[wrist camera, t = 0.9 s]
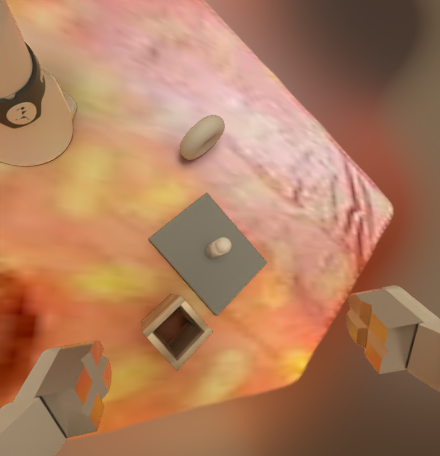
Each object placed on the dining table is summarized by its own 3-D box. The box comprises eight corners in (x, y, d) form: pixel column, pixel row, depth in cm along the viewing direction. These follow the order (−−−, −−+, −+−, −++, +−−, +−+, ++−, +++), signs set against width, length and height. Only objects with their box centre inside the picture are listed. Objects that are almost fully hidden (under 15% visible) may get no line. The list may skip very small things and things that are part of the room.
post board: (148, 239, 47) (151, 228, 38) (204, 195, 52) (219, 175, 43) (214, 314, 47) (233, 321, 38) (263, 263, 52) (290, 257, 43)
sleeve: (141, 321, 44) (142, 332, 32) (170, 294, 46) (181, 295, 35) (166, 349, 44) (176, 370, 33) (194, 321, 46) (213, 331, 35)
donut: (183, 171, 52) (194, 145, 42) (172, 157, 52) (180, 128, 42) (219, 145, 55) (235, 116, 46) (208, 132, 55) (222, 101, 46)
